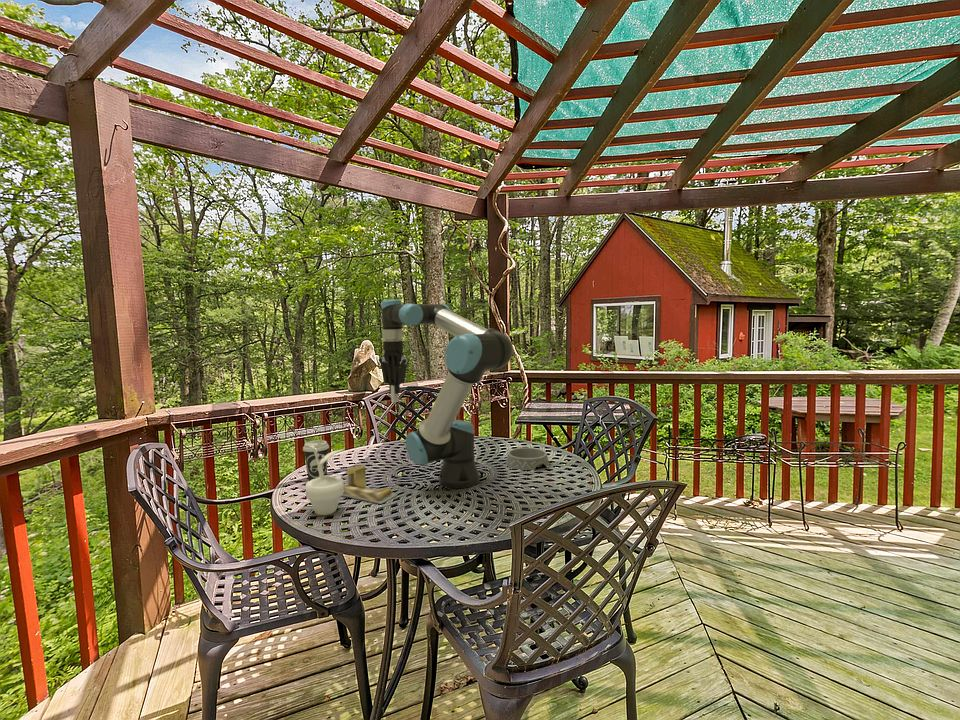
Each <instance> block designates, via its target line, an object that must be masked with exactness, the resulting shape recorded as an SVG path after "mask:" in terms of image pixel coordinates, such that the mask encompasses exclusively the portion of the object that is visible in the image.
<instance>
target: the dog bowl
mask: <svg viewBox="0 0 960 720" xmlns="http://www.w3.org/2000/svg"><path fill="white" fill-rule="evenodd" d="M505 464H506V465H507V466H508V467H510V468H513V469H520V470H534V471H535V470H536V469H537V468H536V467H538V468H540V467H542V466H545V467H546V468H547V466H548V465H549V466H550V462H549V457H548V453H547V452H546V451H545V450H544V449H541V448H536V447H518V448H517V447H516V448H512V449H510V450H509V451H508V452H507V455H506V461H505ZM506 465H505V466H506ZM539 466H540V467H539ZM508 467H507V468H508Z"/></svg>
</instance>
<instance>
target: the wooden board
mask: <svg viewBox="0 0 960 720" xmlns="http://www.w3.org/2000/svg"><path fill="white" fill-rule="evenodd" d="M364 489H367V490H372V491H379V490H380V489H378V488H377V489H376V488H371V487H366V488H364ZM342 497H346V498H351V499H356V500H360V501H364V502H365V501H366V502H369V503H374V504H378V505H382V504H384V503H386V502H387V501H390V500H391V499H393V498H395V497H397V493H396V492H392V491H391V494H389V495H387V496H385V497H383V498H382V500H381V501H379V502H378V501H373V500H369V499H364V498H359V497H355V496H350V495H345V494H343V495H342Z"/></svg>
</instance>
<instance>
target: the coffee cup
mask: <svg viewBox="0 0 960 720" xmlns="http://www.w3.org/2000/svg"><path fill="white" fill-rule="evenodd" d="M319 441H320V443H321V444H323V445H322V446H321V449H319V447H317V445H318V443H319ZM309 446H314V447H315V448H316V449H317V455H318V454H319V458H318V462H319V463H320V460H321V459H322V458H323V457H322V456H323V455H324V456H326V455H327V454H328V453H329V448H330V445H329V444H328V441H326V440H323V439H322V440H320V439H317V440H311V441H307V442H305V443H304V446H303V447H302V451H303V453H304V459H305V465H306V466H305V467H306V472H307V482H308V481H310V480H313V479H316V478H319V477H320V476H319V471H318V469H317V468H318V464H317V462H316V457H315V454H314V449H313V448H310V447H309ZM321 465H322V469H323V473H324V476H326V475H328V460H327V461H325V462H324V463H323V464H321Z"/></svg>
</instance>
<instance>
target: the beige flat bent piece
mask: <svg viewBox="0 0 960 720" xmlns="http://www.w3.org/2000/svg"><path fill="white" fill-rule="evenodd" d="M378 490H379V491H372V490H367V489H362V488H357V487H352V486H348V484H344V492H343V494H345V495H350V496H355V497H359V498H364V499H369V500H373V501H378V502H379V501H381V500H382V498H383V497H385V496H387V495H389V494H391V492H392V488H389V487H383V488H381V489H378Z"/></svg>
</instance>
